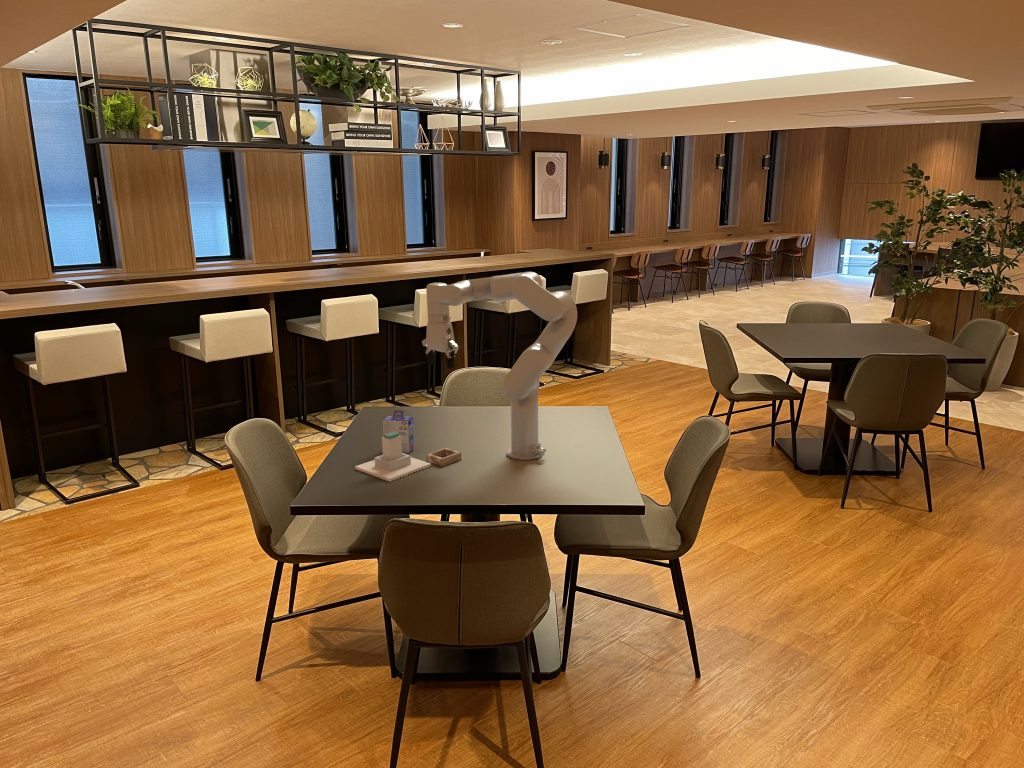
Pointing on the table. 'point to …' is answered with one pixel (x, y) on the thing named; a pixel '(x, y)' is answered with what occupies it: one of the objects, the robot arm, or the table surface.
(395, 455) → the plug
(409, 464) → the port board
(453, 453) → the brown rectangular frame
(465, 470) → the table surface
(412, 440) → the ink cartridge box
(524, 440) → the robot arm
